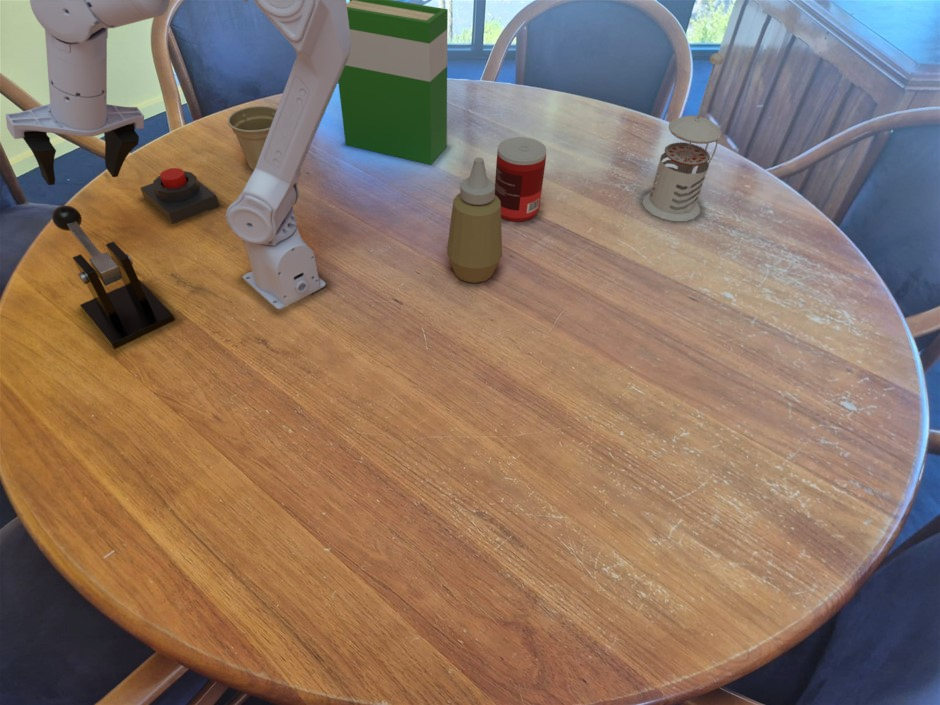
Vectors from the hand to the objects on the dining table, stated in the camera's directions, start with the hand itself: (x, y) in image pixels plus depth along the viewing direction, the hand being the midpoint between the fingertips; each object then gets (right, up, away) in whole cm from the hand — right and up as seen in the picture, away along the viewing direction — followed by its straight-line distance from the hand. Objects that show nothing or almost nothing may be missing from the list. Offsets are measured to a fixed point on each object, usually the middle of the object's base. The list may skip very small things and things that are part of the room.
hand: (81, 175), depth 81 cm
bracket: (+5, -18, +2) cm, 19 cm away
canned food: (+59, +1, +23) cm, 63 cm away
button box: (+3, +2, +21) cm, 21 cm away
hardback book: (+37, +16, +37) cm, 55 cm away
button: (+4, +4, +18) cm, 19 cm away
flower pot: (+14, +11, +31) cm, 35 cm away
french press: (+86, +2, +26) cm, 90 cm away
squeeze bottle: (+51, -11, +11) cm, 54 cm away
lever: (+2, -10, -1) cm, 10 cm away
